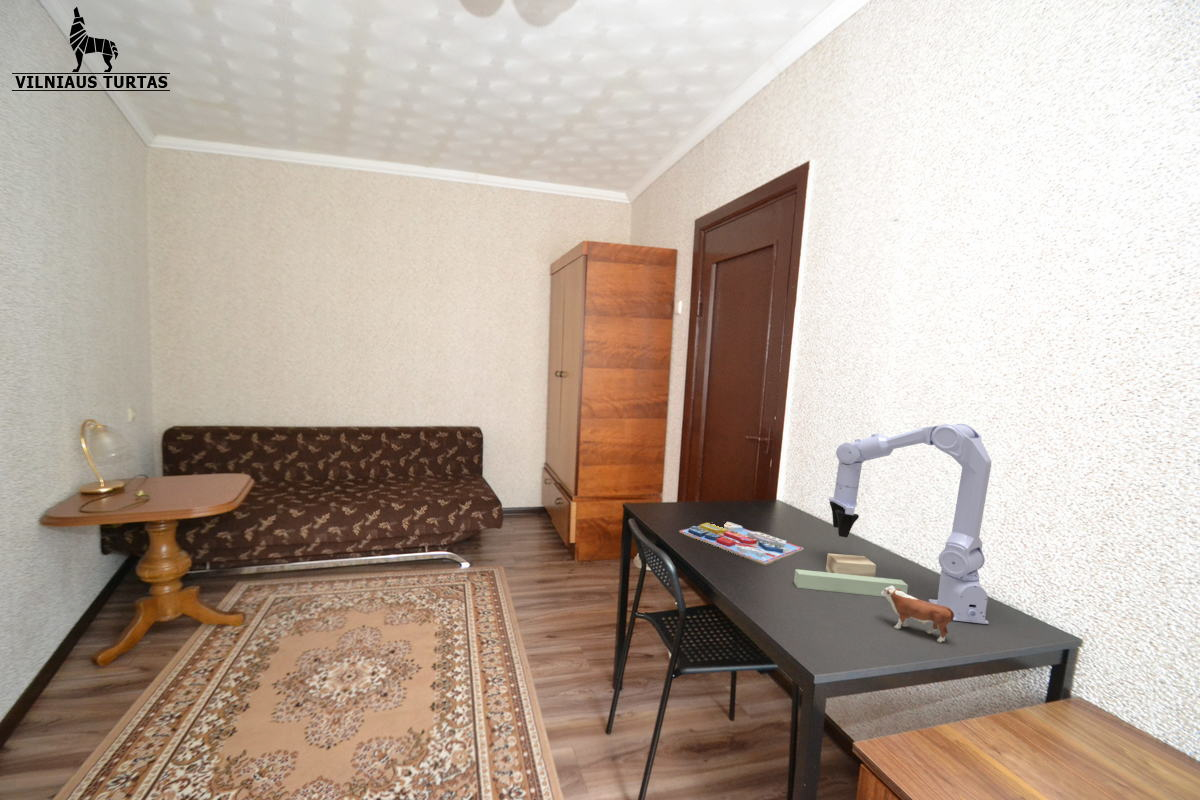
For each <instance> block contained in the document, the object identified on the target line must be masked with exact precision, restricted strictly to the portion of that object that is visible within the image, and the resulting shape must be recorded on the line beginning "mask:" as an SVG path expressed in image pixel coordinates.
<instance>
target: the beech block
mask: <svg viewBox="0 0 1200 800" xmlns="http://www.w3.org/2000/svg"><path fill="white" fill-rule="evenodd" d="M876 570H877V565H876V563H874V562H873V561H871V559H869V558H867V557H866V556H865V555H852V554H843V553H841V554H840V553H829V552H828V553H827V557H826V566H825V572H828V573H838V574H848V575H857V576H867V577H876Z"/></svg>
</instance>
